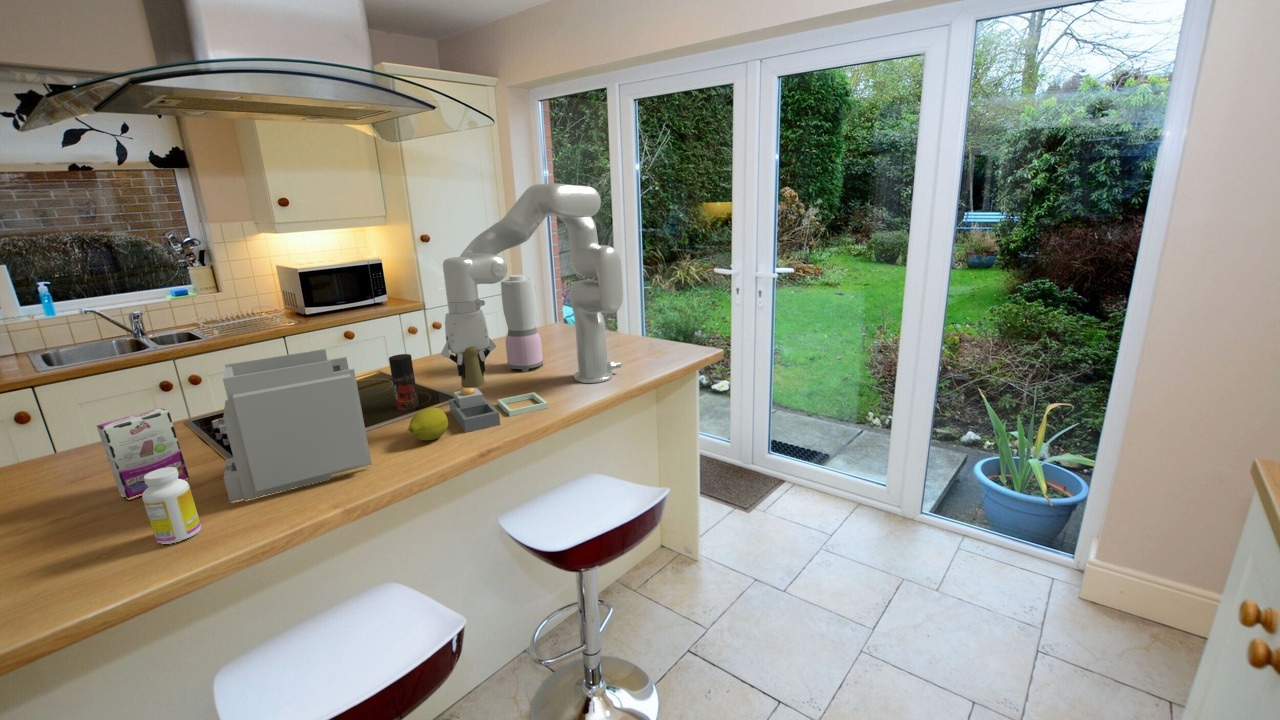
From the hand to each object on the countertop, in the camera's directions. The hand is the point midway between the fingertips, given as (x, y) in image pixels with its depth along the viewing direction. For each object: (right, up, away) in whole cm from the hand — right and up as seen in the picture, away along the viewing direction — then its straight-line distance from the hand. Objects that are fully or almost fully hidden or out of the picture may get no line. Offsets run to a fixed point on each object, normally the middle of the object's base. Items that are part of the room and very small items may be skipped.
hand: (472, 375), depth 150 cm
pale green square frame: (+10, -9, +15) cm, 20 cm away
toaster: (-30, -21, -22) cm, 43 cm away
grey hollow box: (-1, -12, +7) cm, 14 cm away
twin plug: (-3, -11, +11) cm, 15 cm away
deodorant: (-24, -10, +18) cm, 32 cm away
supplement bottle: (-41, -28, -44) cm, 66 cm away
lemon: (-9, -16, -6) cm, 19 cm away
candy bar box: (-61, -24, -25) cm, 70 cm away
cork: (0, -2, +1) cm, 2 cm away
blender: (+4, +2, +53) cm, 54 cm away
